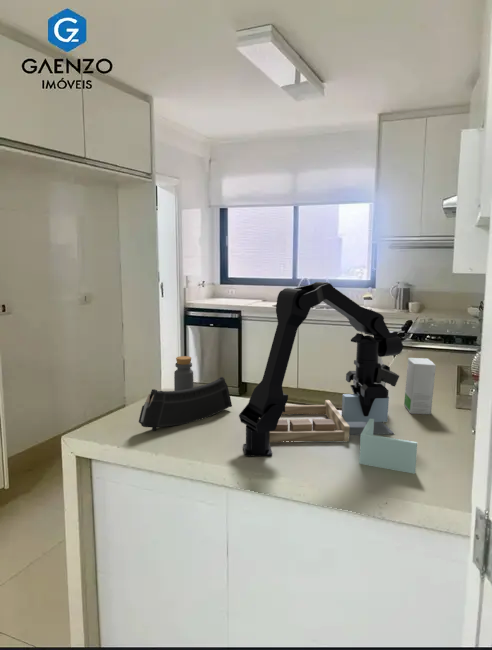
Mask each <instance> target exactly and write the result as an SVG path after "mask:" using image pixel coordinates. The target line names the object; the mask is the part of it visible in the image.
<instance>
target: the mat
mask: <svg viewBox="0 0 492 650" xmlns="http://www.w3.org/2000/svg"><path fill="white" fill-rule="evenodd" d="M347 424H348V425H349V426H350V429H349V436H355V435H356V436H357V435H359V436H361V433H362V431H363V429H364V428H365V426H366V424H367V422H347ZM373 435H376V436H381V435H395V434H394V432H393V430H391V428H390V427H389V426H387V424H385V422H374V430H373Z"/></svg>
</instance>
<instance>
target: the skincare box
mask: <svg viewBox="0 0 492 650" xmlns="http://www.w3.org/2000/svg"><path fill="white" fill-rule="evenodd" d="M436 368H437V365H436V364H435V363H434V362H433V360H431V359H429V358H428V357H427V358H425V357H420V358H419V357H408V358H407V368H406V376H405V377H406V379H405V380H406V381H405V391H404V403H403V405H404V407H405V408H406V409H407V411H408V412H409V414H414V415H415V414H416V415H432V407H433V397H434V388H435V378H436V377H435V376H436Z"/></svg>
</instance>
